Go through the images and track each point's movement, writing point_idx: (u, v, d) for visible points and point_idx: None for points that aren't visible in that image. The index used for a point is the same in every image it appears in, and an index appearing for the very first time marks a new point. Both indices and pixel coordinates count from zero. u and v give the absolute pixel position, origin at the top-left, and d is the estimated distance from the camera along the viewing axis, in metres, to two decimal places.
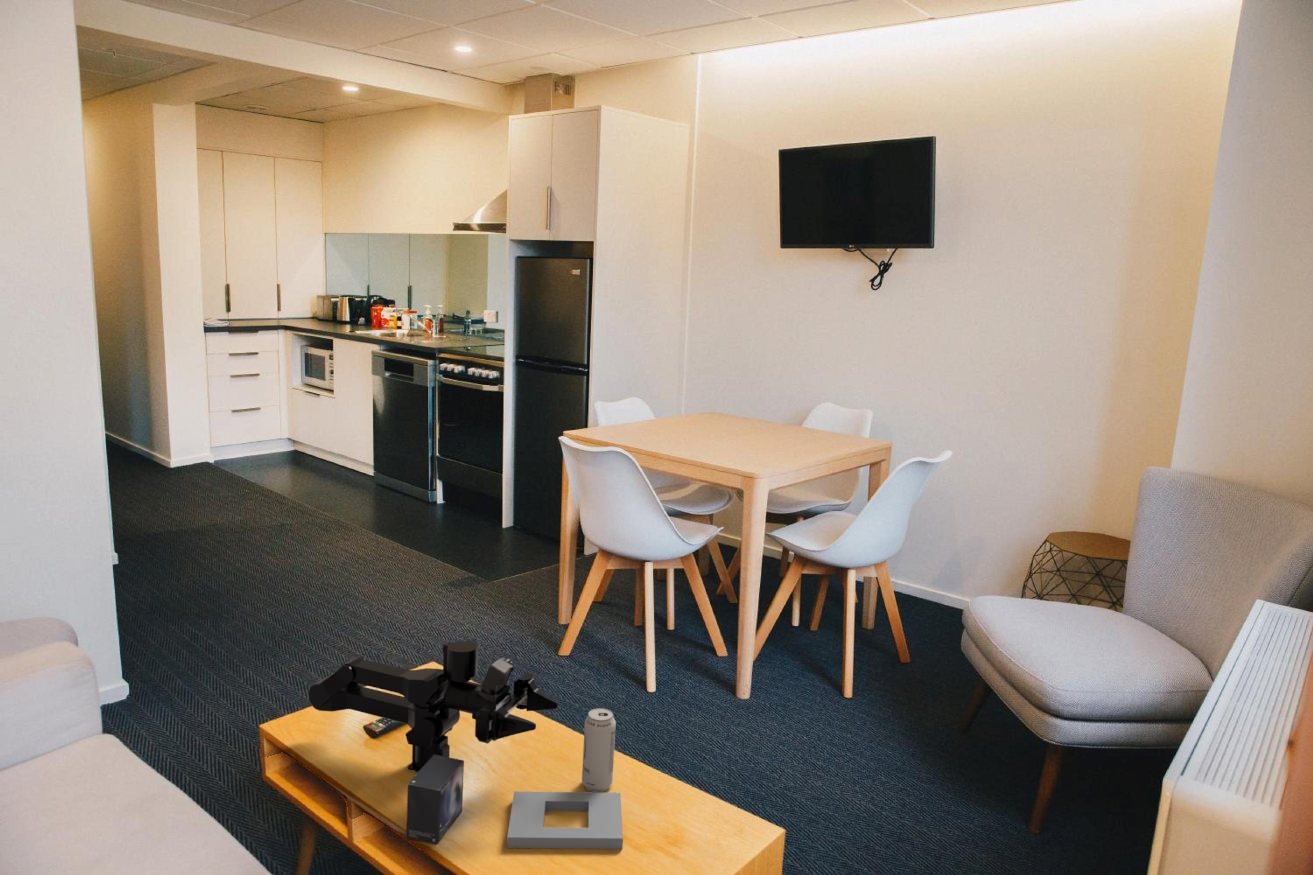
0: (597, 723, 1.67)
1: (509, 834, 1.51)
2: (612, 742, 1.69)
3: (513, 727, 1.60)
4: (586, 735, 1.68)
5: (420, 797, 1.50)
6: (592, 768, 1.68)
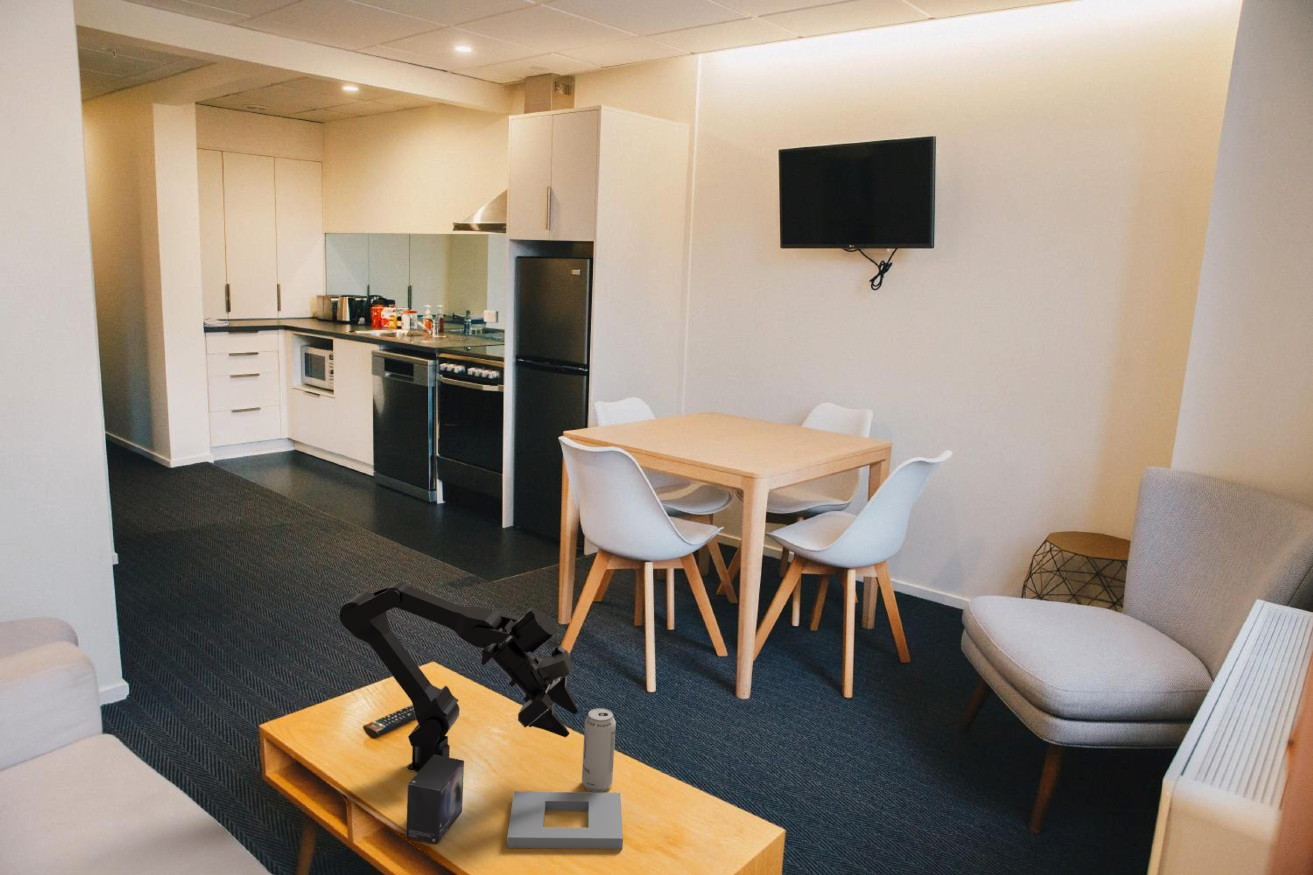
0: (597, 723, 1.67)
1: (509, 834, 1.51)
2: (612, 742, 1.69)
3: (550, 725, 1.64)
4: (586, 735, 1.68)
5: (420, 797, 1.50)
6: (592, 768, 1.68)
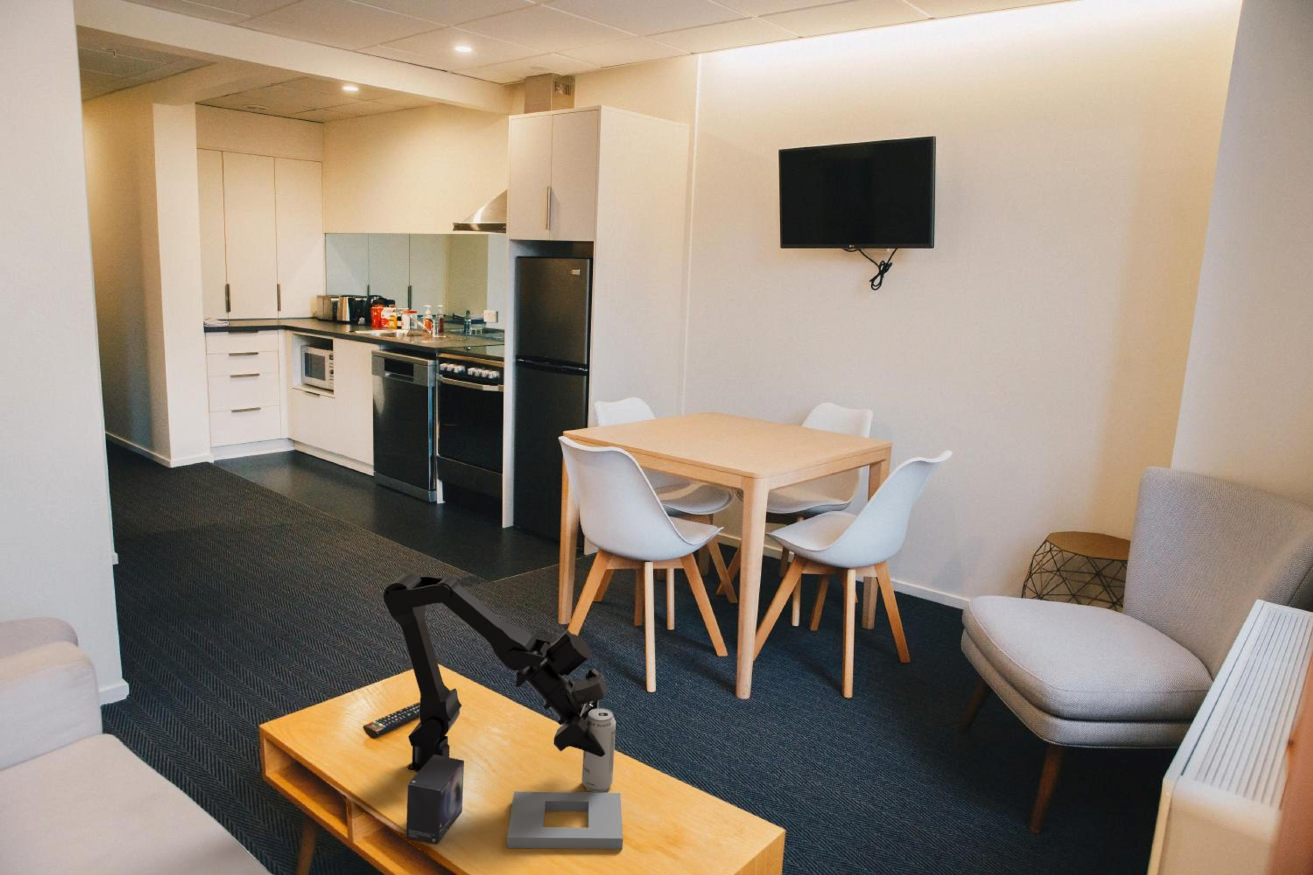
0: (597, 723, 1.67)
1: (509, 834, 1.51)
2: (612, 742, 1.69)
3: (586, 745, 1.66)
4: None
5: (420, 797, 1.50)
6: (592, 768, 1.68)
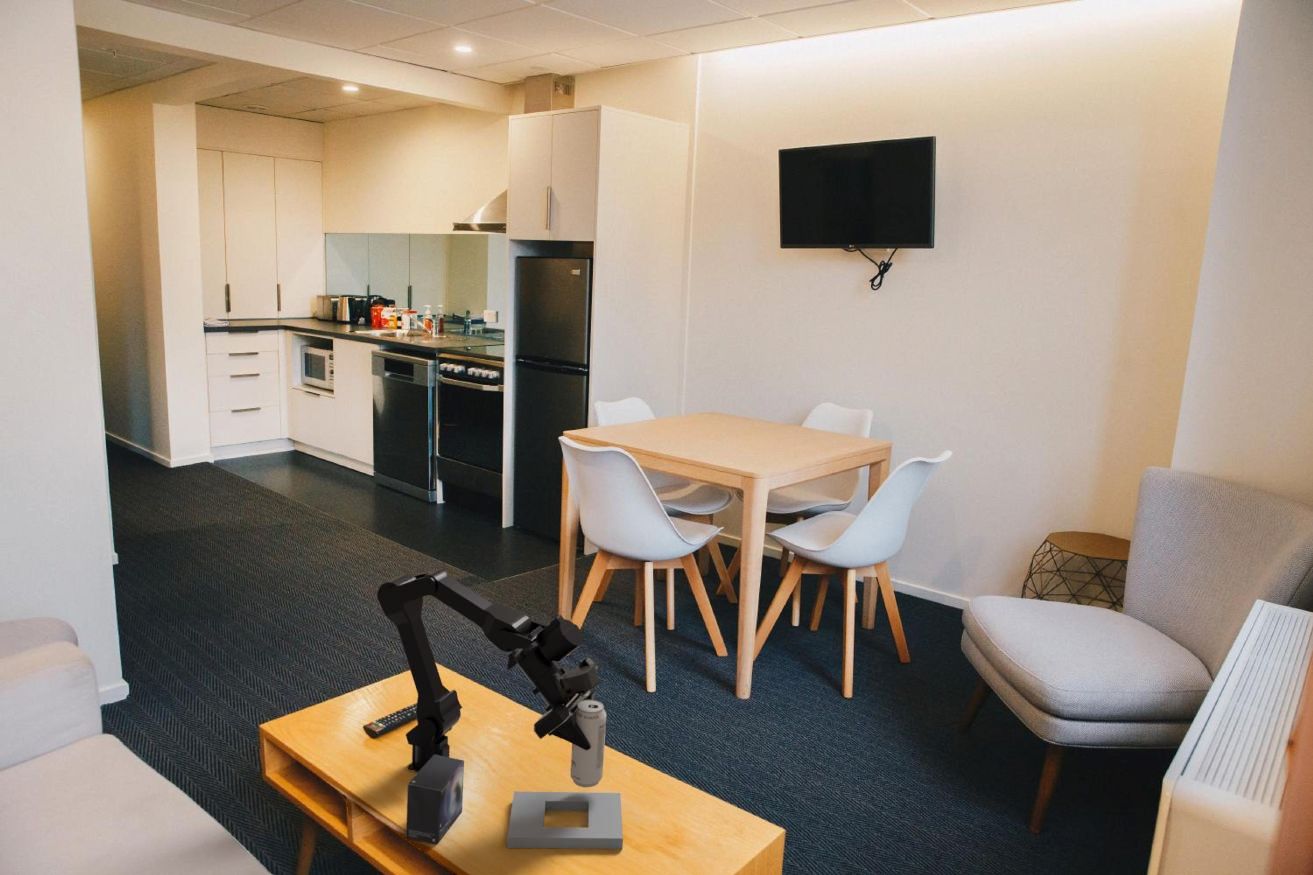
0: (584, 715, 1.60)
1: (509, 834, 1.51)
2: (600, 736, 1.61)
3: (571, 736, 1.59)
4: None
5: (420, 797, 1.50)
6: (578, 761, 1.61)
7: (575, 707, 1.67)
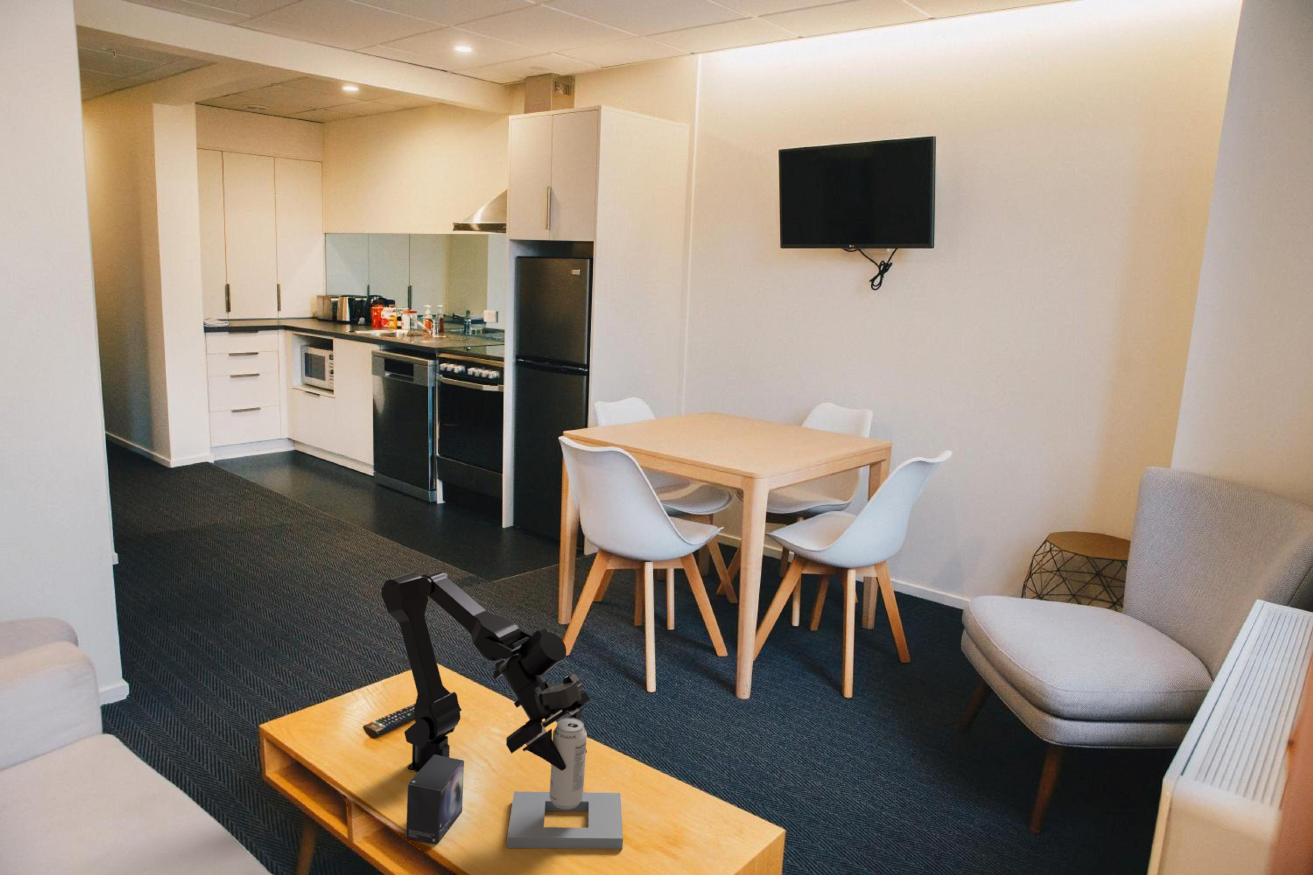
0: (561, 733, 1.54)
1: (509, 834, 1.51)
2: (577, 757, 1.54)
3: (546, 754, 1.53)
4: None
5: (420, 797, 1.50)
6: (555, 781, 1.55)
7: None
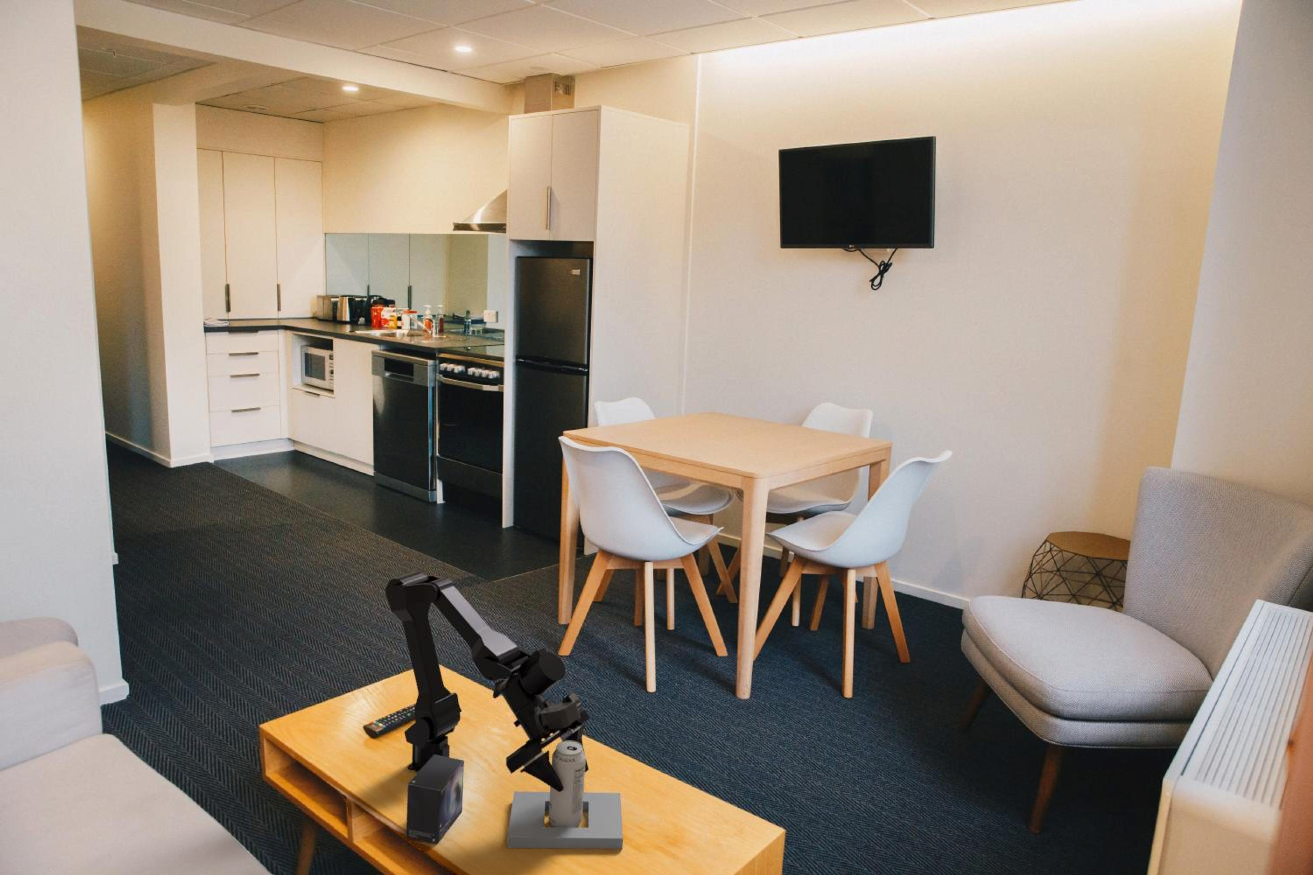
0: (560, 757, 1.54)
1: (509, 834, 1.51)
2: (576, 780, 1.55)
3: (544, 775, 1.53)
4: None
5: (420, 797, 1.50)
6: (554, 804, 1.56)
7: None
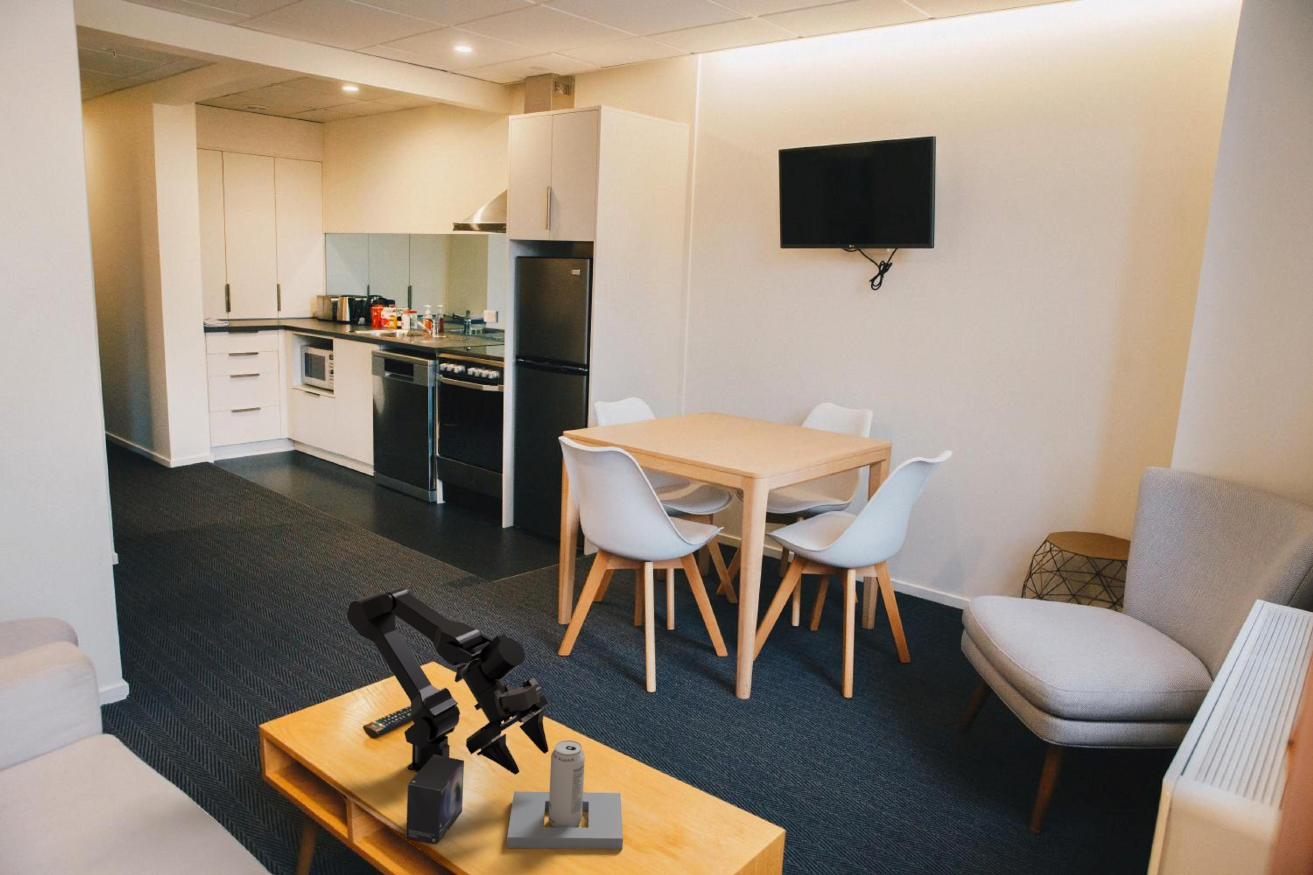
0: (559, 756, 1.54)
1: (509, 834, 1.51)
2: (575, 780, 1.55)
3: (500, 758, 1.57)
4: None
5: (420, 797, 1.50)
6: (553, 804, 1.56)
7: (524, 724, 1.68)
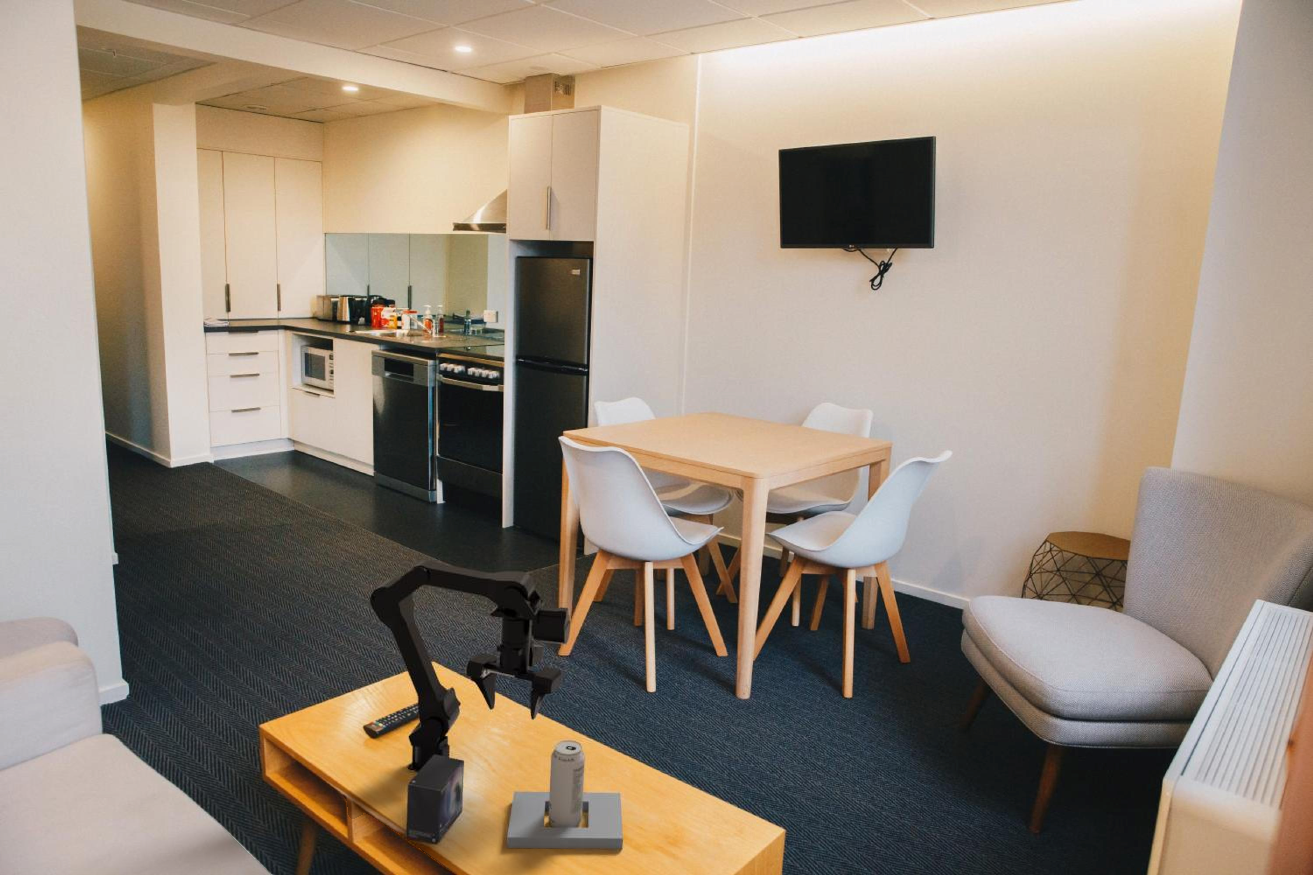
0: (559, 756, 1.54)
1: (509, 834, 1.51)
2: (576, 780, 1.55)
3: (538, 702, 1.68)
4: None
5: (420, 797, 1.50)
6: (553, 804, 1.56)
7: (486, 679, 1.70)
